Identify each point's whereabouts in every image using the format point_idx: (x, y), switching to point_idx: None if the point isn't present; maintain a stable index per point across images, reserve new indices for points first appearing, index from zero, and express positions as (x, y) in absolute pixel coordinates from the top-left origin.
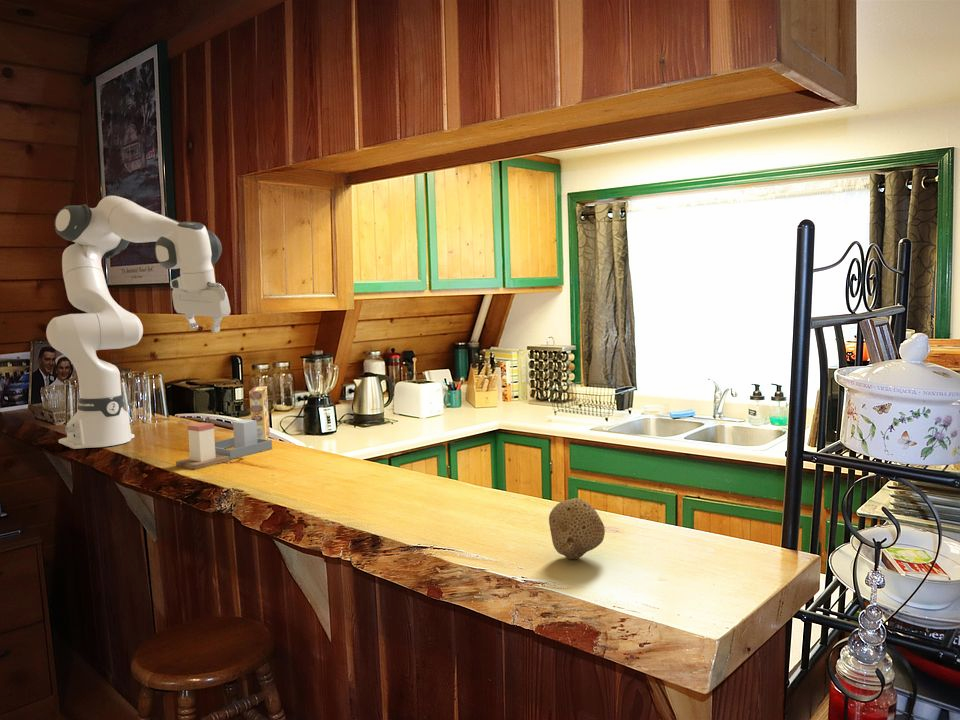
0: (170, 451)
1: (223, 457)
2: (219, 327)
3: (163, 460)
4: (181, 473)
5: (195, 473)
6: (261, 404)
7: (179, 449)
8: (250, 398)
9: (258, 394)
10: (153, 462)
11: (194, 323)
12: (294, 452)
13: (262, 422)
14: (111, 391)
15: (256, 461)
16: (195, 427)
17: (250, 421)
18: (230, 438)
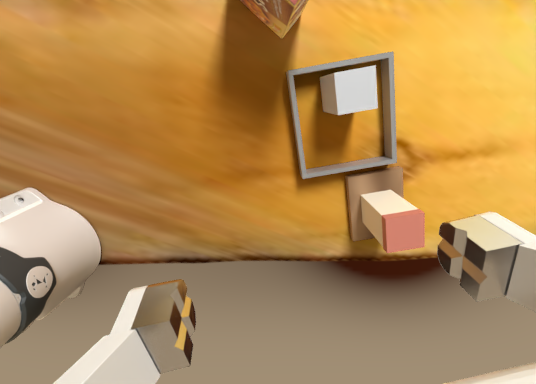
0: (231, 197)
1: (399, 178)
2: (518, 229)
3: (293, 234)
4: (402, 251)
5: None
6: None
7: (227, 179)
8: (294, 10)
9: None
10: (293, 249)
11: (179, 349)
12: (453, 42)
13: (305, 4)
14: (2, 309)
15: (444, 137)
16: (412, 247)
17: (372, 82)
18: (294, 103)
